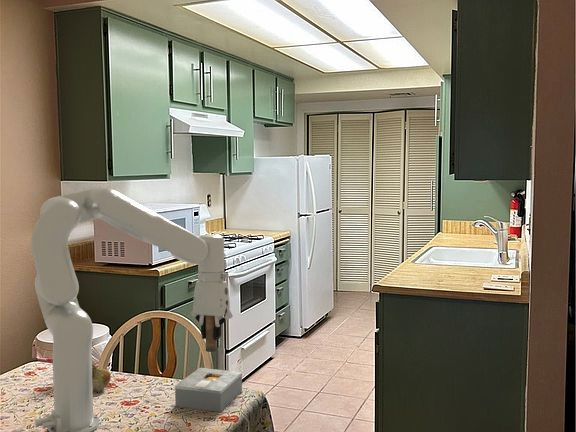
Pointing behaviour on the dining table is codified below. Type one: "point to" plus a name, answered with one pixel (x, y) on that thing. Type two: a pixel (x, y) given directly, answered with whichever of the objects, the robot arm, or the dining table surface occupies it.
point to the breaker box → (208, 389)
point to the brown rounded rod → (210, 334)
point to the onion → (100, 378)
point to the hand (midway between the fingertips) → (211, 337)
